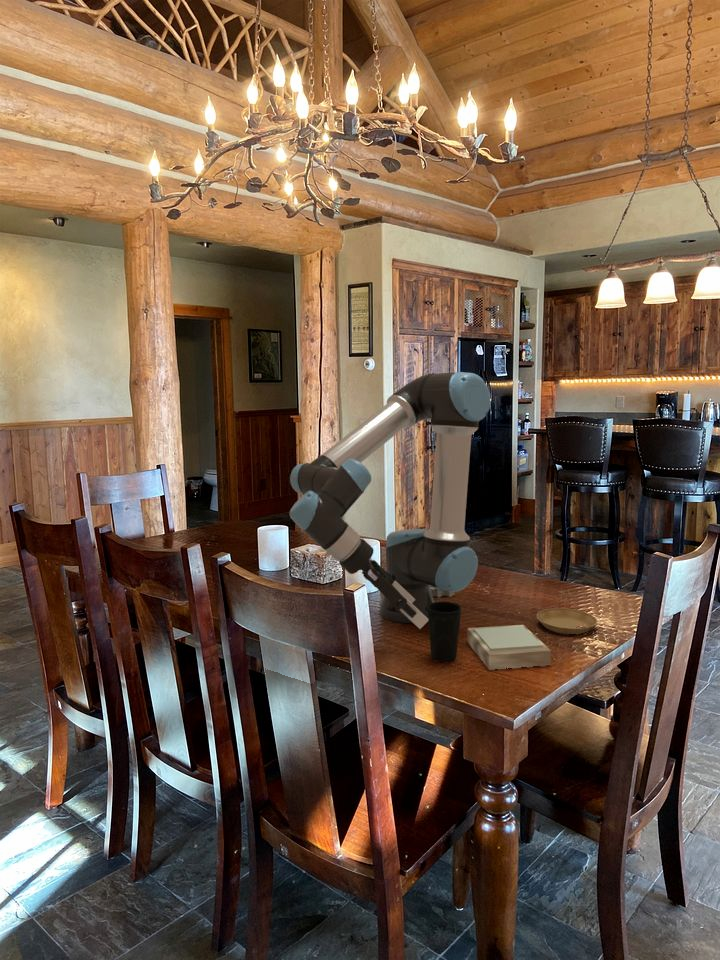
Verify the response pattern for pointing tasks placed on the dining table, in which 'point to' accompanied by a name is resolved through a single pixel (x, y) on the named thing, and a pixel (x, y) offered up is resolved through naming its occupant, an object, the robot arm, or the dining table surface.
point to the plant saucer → (566, 620)
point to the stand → (508, 647)
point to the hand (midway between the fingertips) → (417, 613)
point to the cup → (444, 630)
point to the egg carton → (440, 592)
